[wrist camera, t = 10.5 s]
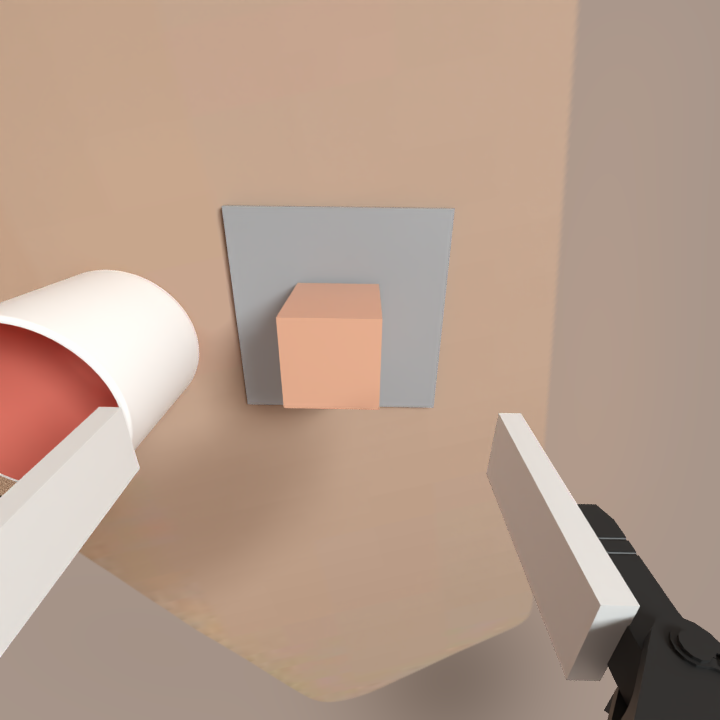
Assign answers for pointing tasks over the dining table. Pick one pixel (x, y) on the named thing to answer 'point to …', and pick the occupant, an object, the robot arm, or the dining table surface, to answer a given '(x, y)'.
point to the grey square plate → (348, 266)
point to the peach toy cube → (331, 346)
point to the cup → (88, 361)
